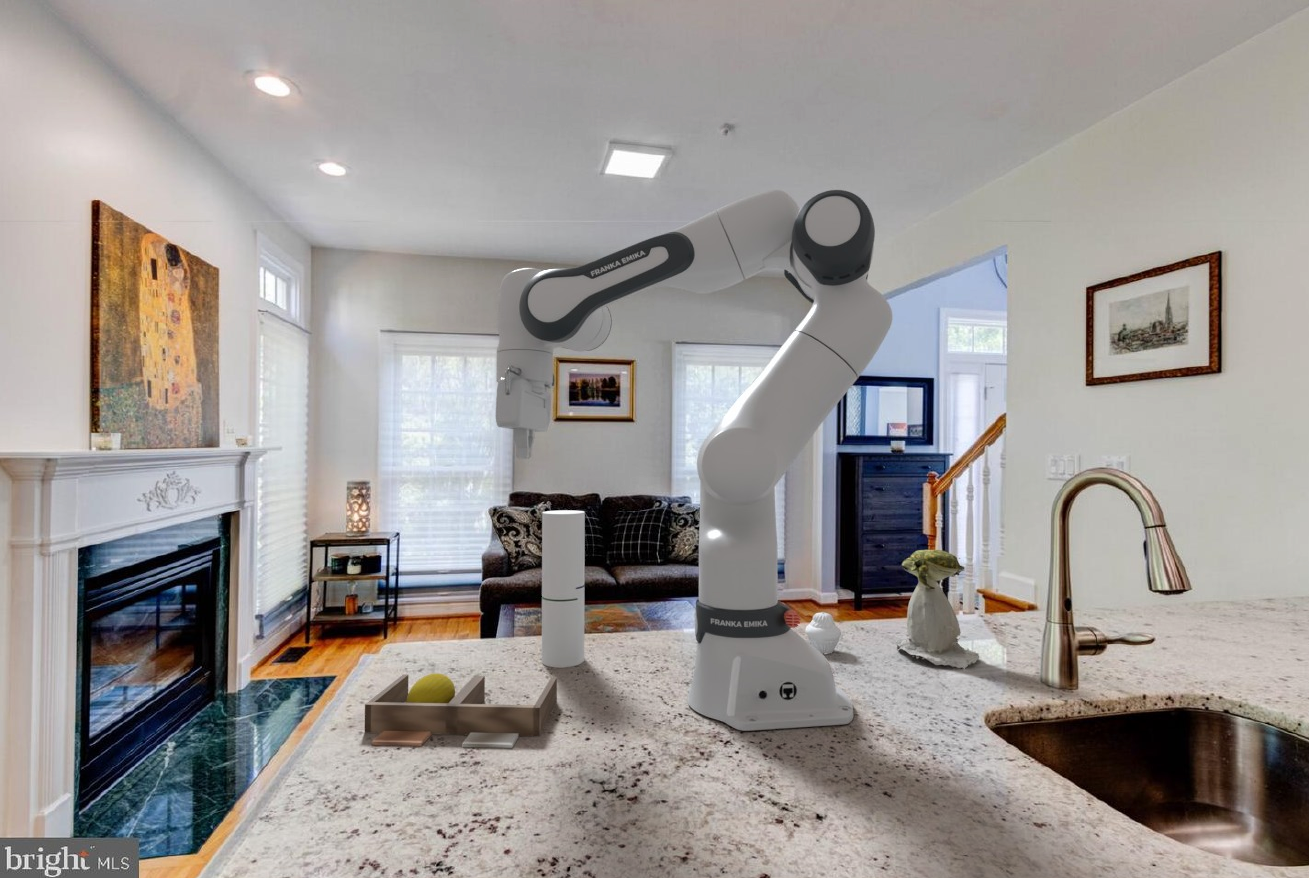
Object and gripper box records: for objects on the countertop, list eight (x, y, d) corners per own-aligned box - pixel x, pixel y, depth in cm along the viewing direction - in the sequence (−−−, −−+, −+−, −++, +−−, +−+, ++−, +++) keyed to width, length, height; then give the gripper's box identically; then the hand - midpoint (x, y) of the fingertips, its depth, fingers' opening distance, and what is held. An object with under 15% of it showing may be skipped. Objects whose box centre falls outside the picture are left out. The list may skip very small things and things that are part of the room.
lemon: (453, 713, 88) (423, 739, 80) (421, 692, 89) (388, 715, 81) (471, 679, 88) (443, 701, 80) (439, 657, 88) (407, 677, 81)
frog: (934, 673, 101) (933, 557, 102) (881, 649, 114) (880, 546, 114) (993, 665, 105) (992, 553, 106) (936, 643, 117) (935, 543, 118)
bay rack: (556, 702, 89) (556, 677, 89) (533, 748, 75) (533, 718, 75) (402, 699, 90) (402, 674, 90) (351, 744, 76) (351, 714, 76)
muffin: (838, 658, 108) (837, 617, 108) (802, 654, 111) (801, 613, 111) (843, 648, 114) (843, 609, 114) (809, 644, 116) (809, 606, 117)
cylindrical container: (592, 658, 109) (593, 511, 109) (565, 670, 103) (566, 514, 103) (560, 651, 112) (561, 509, 113) (532, 662, 106) (533, 512, 107)
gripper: (528, 362, 91) (527, 459, 91) (557, 379, 112) (556, 458, 111) (485, 363, 92) (484, 459, 91) (521, 379, 112) (520, 458, 112)
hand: (524, 458), depth 101 cm, fingers closed
